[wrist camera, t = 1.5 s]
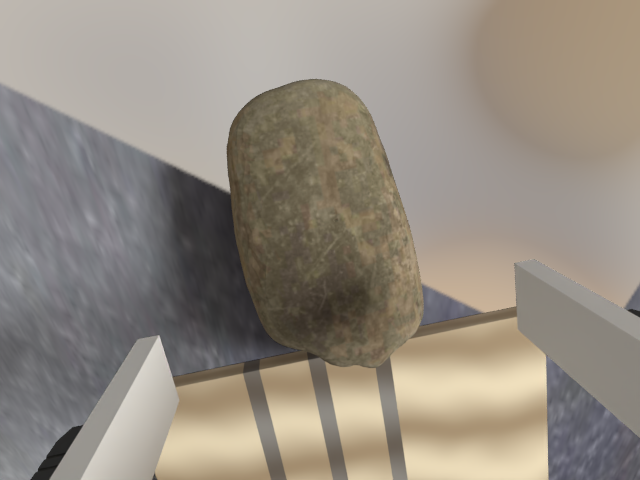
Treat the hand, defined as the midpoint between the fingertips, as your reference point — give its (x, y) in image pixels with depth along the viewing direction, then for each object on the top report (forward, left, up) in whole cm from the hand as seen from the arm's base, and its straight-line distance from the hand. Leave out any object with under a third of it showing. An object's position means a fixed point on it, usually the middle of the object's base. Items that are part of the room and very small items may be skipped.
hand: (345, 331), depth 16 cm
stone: (-2, 0, -11) cm, 11 cm away
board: (+14, 0, -10) cm, 17 cm away
